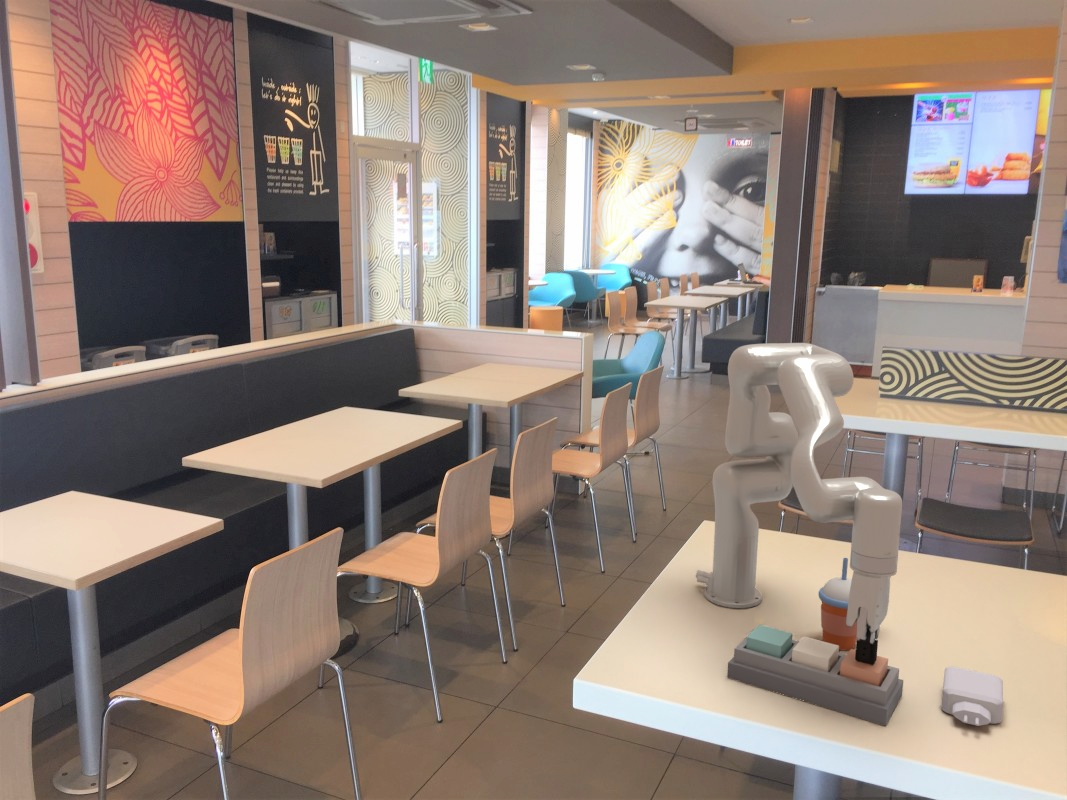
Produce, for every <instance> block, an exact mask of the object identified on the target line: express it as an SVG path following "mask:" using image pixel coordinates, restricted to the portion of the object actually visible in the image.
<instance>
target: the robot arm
mask: <svg viewBox="0 0 1067 800" xmlns="http://www.w3.org/2000/svg"><path fill="white" fill-rule="evenodd" d="M727 375H728V385H729V400H728V401H729V402H728V409H727V416H726V417H727V418H726V424H725V426H726V427H725V434H724V435H725V437H724V445H725V448H726V450H727V452H728V454H729V455H731V456H732V457H735V458H739V459H740V458H743V459H741V460H739V459H738V460H731V461H727V462H726V461H725V462H723V463H721V464H719V465H718V466H716V468H715V469H714V471H713V473H712V483H711V484H712V490H713V497H714V514H715V515H714V536H713V537H714V538H713V540H714V541H713V556H712V557H713V558H712V559H713V560H712V571H711V572H707V571H704V570H703V571H702V570H700V569H698V570H697V571H696V573H695V578H696V582H697V583H700V584H705V586H706V587H705V588H704V597H705V598H706V599H707V601H709V602H711V603H713V604H715V605H718V606H722V607H725V608H731V609H748V608H752V607H755V606H757V605H760V603H762V600H763V599H762V598H763V595H762V592H761V591H760V590H759V589H758V588H757V587H756V583H757V582H756V580H757V563H758V561H757V560H758V547H759V546H758V545H759V533H760V531H759V529H760V526H759V525H760V523H759V520H758V517H757V516H756V514H755V513H754V512H753V510H752V509H751V508H752V507H751V505H752V504H757V503H768V502H777V501H778V502H779V501H782V500H784V499H786V498H787V497H788V496H789V495H790V494H791V491H792V489H794V491H795V492H794V493H795V494H796V497H797V499H798V503H800V507H801V508H802V510H803V512H804V513H805V515H806V516H807V517H808V518H809V519H810V520H812V521H813V522H817V523H833V522H843V521H852V528H851V529H852V531H851V544H850V545H851V546H850V556H849V557H850V559H849V568H850V570H852V571H853V573H852V576H851V580H852V581H851V587H850V593H849V601H848V609H847V617H846V625H847V626H848V627H850V626H851V627H852V626H853V625H854V623H855V622H856V621H857V639H856V644H855V650H856V654H855V660H856V661H859V662H863V663H867V664H870V665H874V663H875V662H876V659H877V656H878V644H879V640H878V638H879V631H880V628H879V626H881V625H882V623H883V622H884V620H885V619H886V618H887V617H886V616H887V615H888V610H889V609H888V608H889V603H890V589H891V578H892V577H893V576H895V575H897V571H898V570H897V569H898V561H899V550H900V549H899V548H900V539H901V538H900V537H901V525H902V516H903V515H902V513H903V499H902V497H901V495H900V494H899V493H898V492H896V491H894V490H892V489H891V490H890V489H887V488H884V487H883V486H881V485H880V484H879V483H878V482H877V481H876V480H874V479H873V478H870V477H867V476H851V477H836V478H823V479H822V478H821V476H820V473H819V472H818V468H817V466H816V462H815V459H814V457H815V456H814V455H815V454H814V452H815V449H816V448H818V447H819V446H821V445H823V444H825V443H827V442H828V441H830V440H832V439H833V438H835V437H836V436H837V435H838V434H839V433H841V431H842V430H843V428H844V425H845V422H844V418H843V417H844V416H842V413H841V411H840V409H839V406H838V403H837V402H836V400H835V398H839V397H844V396H846V395H848V393H850V391H851V390H852V387H853V385H854V373H853V368H852V367H851V365H850V363H849V361H848V360H847V359H846V357H844V356H842V355H841V354H839V353H837V352H834V351H832V350H829V349H826V348H824V347H821V346H818V345H815V344H813V343H808V342H786V343H785V342H783V343H781V342H779V343H778V342H776V343H775V342H773V343H772V342H771V343H769V342H768V343H754V344H753V343H752V344H751V343H750V344H746V345H742V346H738V347H737V348H736V349H735V350H733V352H732V353H731V355H730V357H729V360H728V365H727ZM773 385H775V386H777V385H778V387H779V389H780V392H781V394H782V397H783V399H784V402H785V404H786V406H787V409H788V410H787V411H788V413H789V414H788V413H786V412H783V411H782V412H779V411H777V412H776V411H774V412H773V411H772V412H770V409H771V401H772V398H771V393H770V390H769V388H768V386H773ZM763 457H765V458H763ZM745 458H747V459H745ZM748 458H751V459H748ZM752 458H754V459H752ZM755 458H758V459H755Z"/></svg>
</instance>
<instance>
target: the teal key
mask: <svg viewBox="0 0 1067 800" xmlns="http://www.w3.org/2000/svg"><path fill="white" fill-rule="evenodd" d="M793 635H794V634H793V633H792V632H789V631H786V630H781V629H778V628H774V627H771V626H766V625H761V624H759V625H758V626H756V627H755V628H754V629H752V631H750V632H749V633H748V634H747V635H746V637H747V645H746V649H749V650H752V651H756V652H759V653H763V654H767V655H770V656H774V657H777V658H781V659H782V658H783V657H784V656H785V655H786V654H787V652H788V651H789V650H790V649H791V648H792V640H793Z"/></svg>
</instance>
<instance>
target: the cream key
mask: <svg viewBox="0 0 1067 800" xmlns="http://www.w3.org/2000/svg"><path fill="white" fill-rule="evenodd" d="M798 642H799V643H798V644H797V645H796V646H795V647H794V648H793V650H792V662H795V663H798V664H802V665H805V666H809V667H812V668H816V669H819V670H823V671H826V672H830V671H831V670H832V668H833V667H834V666H835V664H836V663H837V662H838V653H840V650H839V646H838V645H835V644H831V643H827V642H823V640H819V639H815V638H812V637H807V636H802V638H801V639H799V641H798Z"/></svg>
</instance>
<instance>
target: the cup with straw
mask: <svg viewBox="0 0 1067 800" xmlns="http://www.w3.org/2000/svg"><path fill="white" fill-rule="evenodd" d="M848 563H849V558H848V557H843V558H842V570H841V571H842V572H841V576H838V577H834V578H831V579H829V580H828V581H826V583H824V585H823V586H822V587H821V588H820V589H819V591H818V598H819V599H820V601H821V604H820V620H821V621H820V622H821V624H820V625H821V629H822V641H823V642H827V643H831V644H835V645H838V646H839V651H850V650H851V649H853V650H854V648H856V641H857V621H856V622H855V623H854V625H853V626H852V627H851V626H850V627H848V626H847V625H846V617H847V609H848V601H849V593H850V587H851V581H852V578H849V577H848V565H849V564H848Z"/></svg>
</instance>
